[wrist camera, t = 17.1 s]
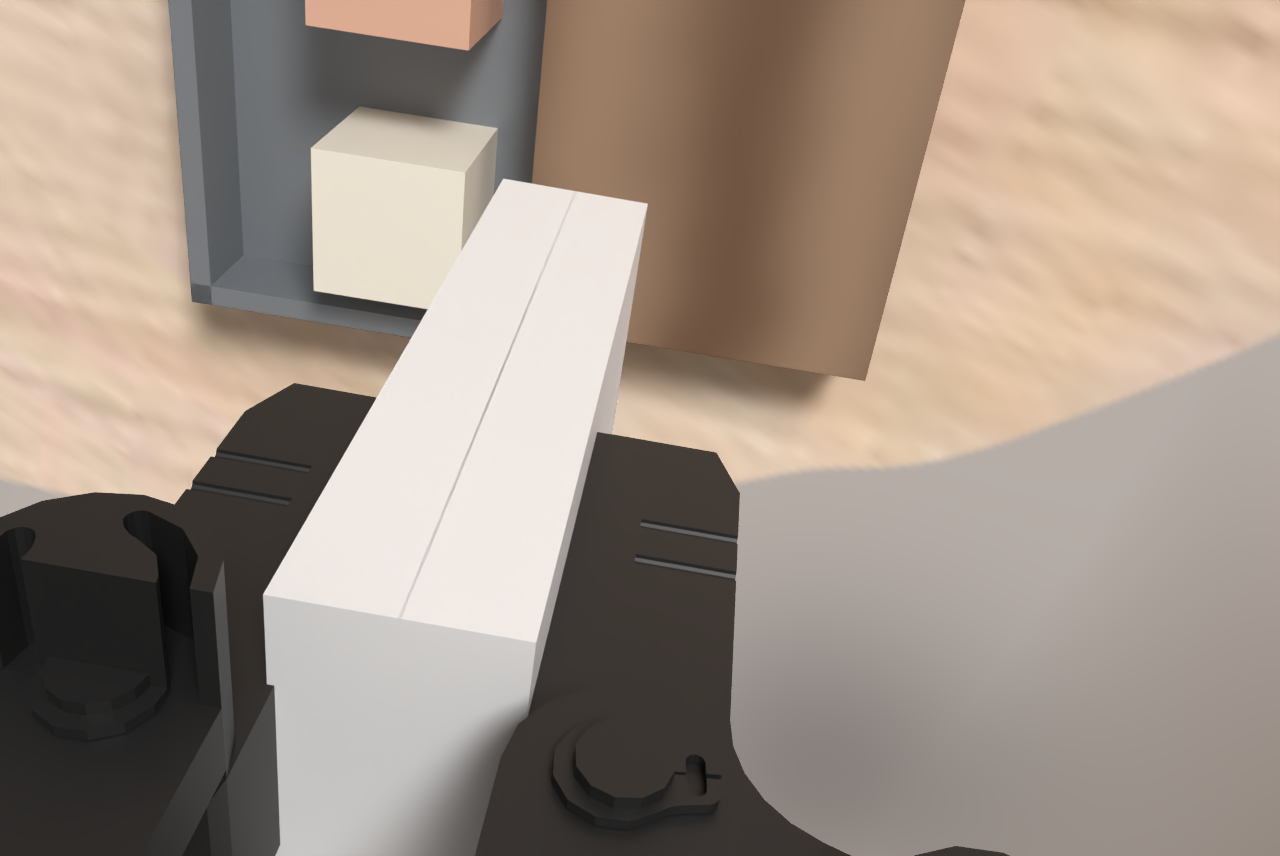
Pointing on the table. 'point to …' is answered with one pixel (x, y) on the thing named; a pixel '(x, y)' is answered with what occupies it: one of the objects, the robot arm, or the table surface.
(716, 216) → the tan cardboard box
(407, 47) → the tray
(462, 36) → the terracotta block
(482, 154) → the ivory block
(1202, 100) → the table surface
